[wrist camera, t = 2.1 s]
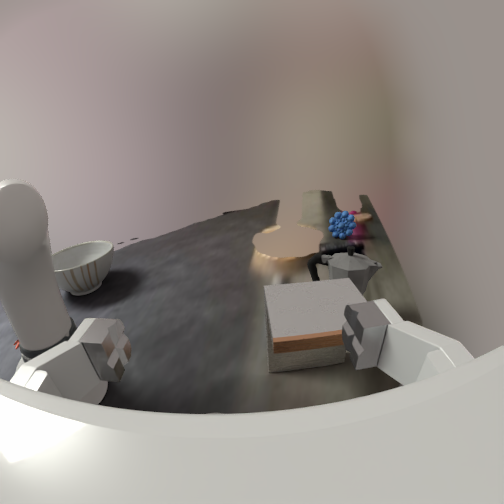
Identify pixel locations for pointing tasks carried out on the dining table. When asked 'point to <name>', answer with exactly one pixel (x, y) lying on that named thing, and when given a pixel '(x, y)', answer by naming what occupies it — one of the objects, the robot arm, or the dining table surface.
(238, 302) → the dining table surface
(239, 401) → the dining table surface
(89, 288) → the decorative bowl
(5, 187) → the robot arm
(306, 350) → the wood-edged grey shelf
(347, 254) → the coffeepot
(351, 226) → the blue bumpy cluster
